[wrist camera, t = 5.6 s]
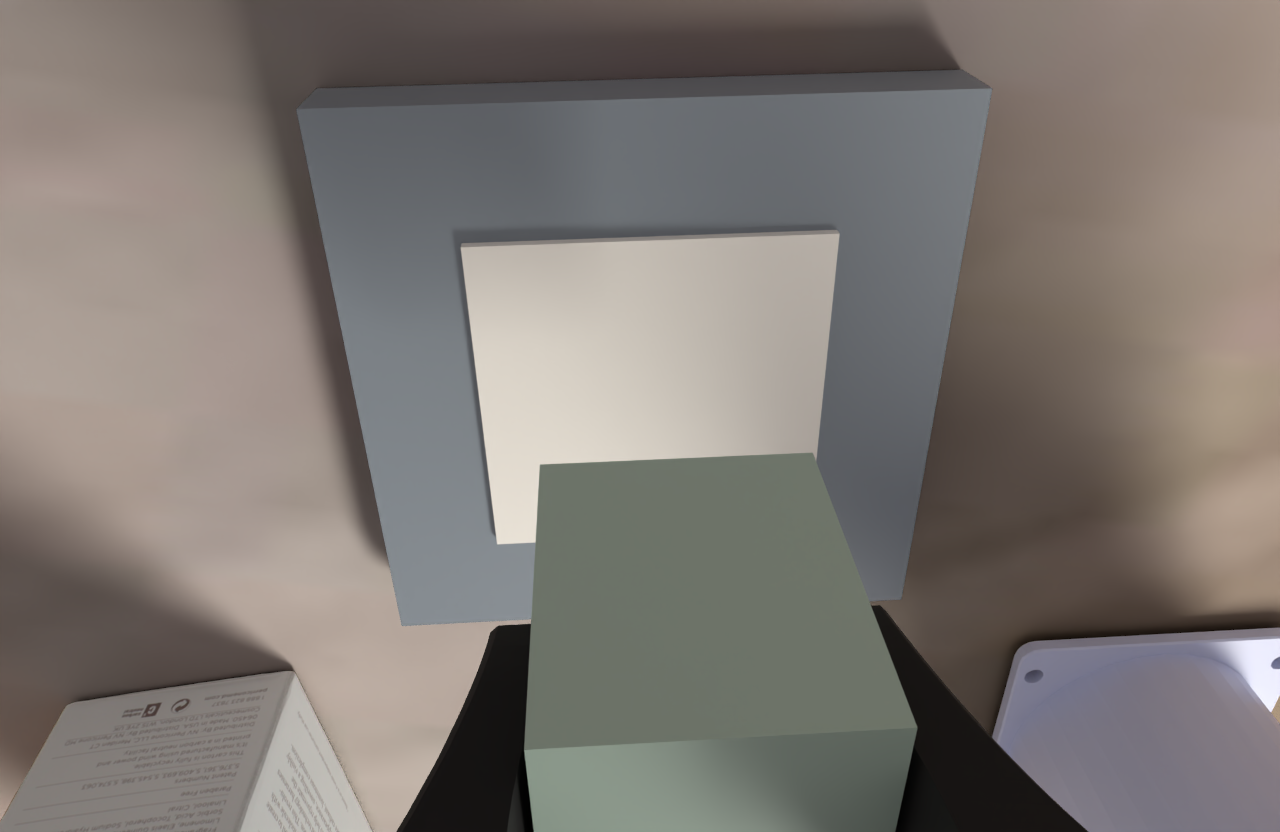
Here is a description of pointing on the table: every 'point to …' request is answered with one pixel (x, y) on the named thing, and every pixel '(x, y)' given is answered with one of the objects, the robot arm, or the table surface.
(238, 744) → the small box
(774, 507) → the sage block
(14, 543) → the table surface
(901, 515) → the slate base
